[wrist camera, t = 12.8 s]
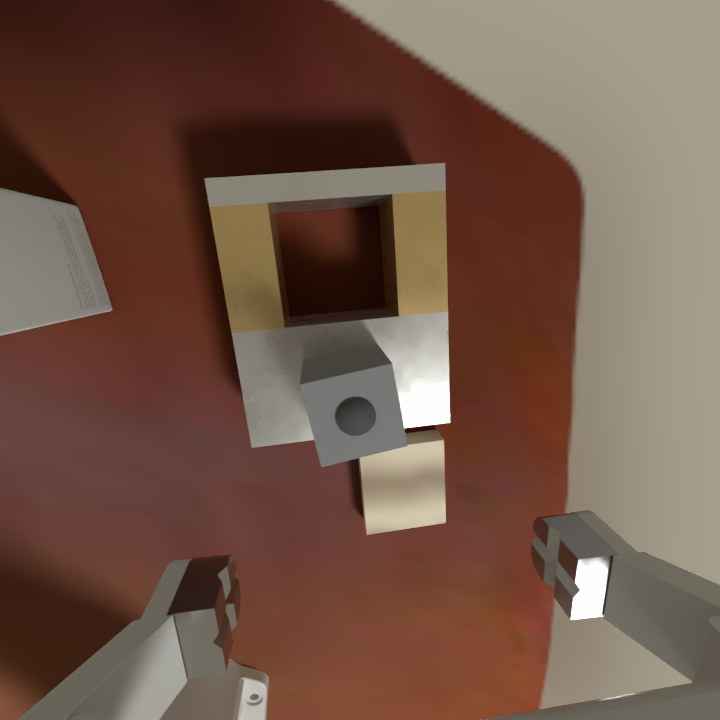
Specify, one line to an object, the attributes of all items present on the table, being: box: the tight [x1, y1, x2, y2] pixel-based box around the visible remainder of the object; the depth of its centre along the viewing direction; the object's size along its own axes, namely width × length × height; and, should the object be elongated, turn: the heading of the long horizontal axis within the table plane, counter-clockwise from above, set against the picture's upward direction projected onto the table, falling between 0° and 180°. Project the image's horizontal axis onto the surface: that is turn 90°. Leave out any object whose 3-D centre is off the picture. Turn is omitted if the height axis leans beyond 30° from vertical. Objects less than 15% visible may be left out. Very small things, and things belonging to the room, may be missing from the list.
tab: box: [358, 430, 446, 535], centre depth 32 cm, size 8×7×2 cm
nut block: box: [300, 344, 408, 467], centre depth 23 cm, size 5×5×5 cm
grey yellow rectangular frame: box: [204, 163, 450, 448], centre depth 26 cm, size 17×14×5 cm
